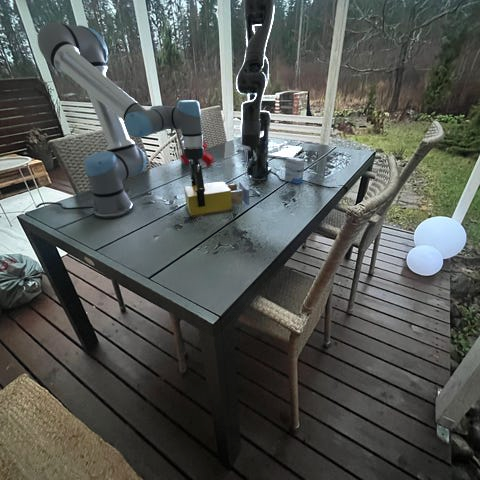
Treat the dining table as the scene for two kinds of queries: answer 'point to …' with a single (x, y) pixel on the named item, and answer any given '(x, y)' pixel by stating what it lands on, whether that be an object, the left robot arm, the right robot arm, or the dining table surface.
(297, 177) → the ink box
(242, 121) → the right robot arm
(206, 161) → the toy gun
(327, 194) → the dining table surface
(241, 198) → the drawer
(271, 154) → the relief map
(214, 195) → the yellow rectangular box
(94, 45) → the left robot arm
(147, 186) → the dining table surface
